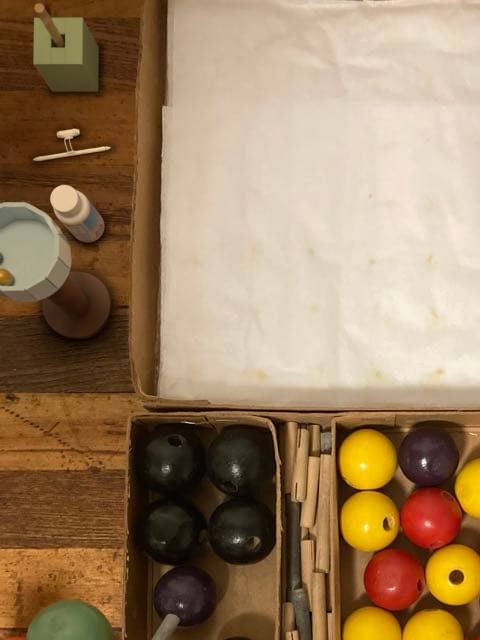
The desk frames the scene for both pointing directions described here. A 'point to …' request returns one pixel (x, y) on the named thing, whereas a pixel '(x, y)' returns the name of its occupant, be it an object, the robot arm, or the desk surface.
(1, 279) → the yellow bead
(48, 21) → the stick
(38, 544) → the desk surface
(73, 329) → the pedestal
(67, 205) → the pill bottle
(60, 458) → the desk surface
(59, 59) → the stand
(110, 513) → the desk surface
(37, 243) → the bowl
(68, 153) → the picture light
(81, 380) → the desk surface
